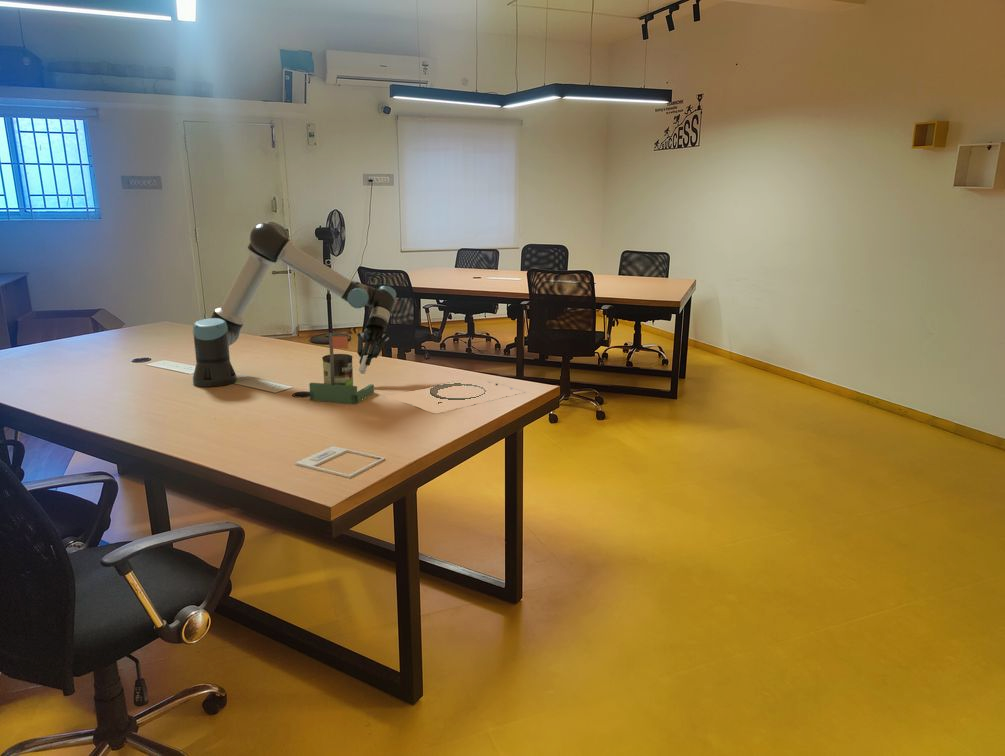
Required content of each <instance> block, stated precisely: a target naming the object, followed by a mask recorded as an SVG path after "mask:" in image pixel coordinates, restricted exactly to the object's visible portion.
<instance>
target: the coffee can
mask: <svg viewBox="0 0 1005 756" xmlns="http://www.w3.org/2000/svg"><path fill="white" fill-rule="evenodd" d="M333 354H334V376H335V384H336V385H349V386H354V375H353V374H354V373H353V372H354V371H353V355H351V354H349V353H348V354H347V353H333ZM321 358H322V366H323V369H322V370H323V383H324V384H331V368H330V354H327V355H324V356H322V357H321Z"/></svg>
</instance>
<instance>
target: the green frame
mask: <svg viewBox="0 0 1005 756" xmlns="http://www.w3.org/2000/svg"><path fill="white" fill-rule="evenodd" d="M348 341H349V340H348V336H334V334H333V333H332V332H328V343H329V355H330V368H331V384H324V382H310V383H309V384H308V385H309V401H313V402H314V401H315V402H323V403H324V402H326V403H338V404H350V405H357V404H358V403H360V402H362V401H363V400H365V399H366V398H368V397H369V396H371V395H372V394H371V393H373V392H374V393H375V385H374V384H372V383H371V384H368V385H366V386H364V387H363V388H361V389H360V390H358V386H357V385H353V386H349V385H336V384H335V376H334V354H335V353H334V349H342V350H348V349H349V342H348ZM374 393H373V394H374ZM370 394H371V395H370ZM368 395H369V396H368ZM367 396H368V397H367ZM365 397H366V398H365ZM364 398H365V399H364ZM362 399H363V400H362ZM361 400H362V401H361ZM359 401H360V402H359ZM356 403H357V404H356Z"/></svg>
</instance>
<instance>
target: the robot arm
mask: <svg viewBox="0 0 1005 756" xmlns="http://www.w3.org/2000/svg"><path fill="white" fill-rule="evenodd" d="M249 241H250V242H249V243H248V246H247V248H246V249H247V252H248V255H247V257H246V259H245V260H244V262H243V265H242V266H241V268H240V270H239V272H238V274H237V276H236V278H235V279H234V282H233V284H232V286H231V288H230V289H229V291H228V293H227V295H226V296H225V299H224V300H223V303H222V304H221V306H220V307H217V308H215V309H214V311H213V313H212V314H211V316H210V318H204V319H200V320H197V321H195V322H194V324H193V326H192V335H193V343H194V351H195V352H194V353H195V361H196V362H195V369H194V372H193V376H192V383H193V386H197V387H203V388H211V387H221V386H222V387H223V386H228V385H231V384H234V383H235V381H236V382H237V373H236V372H235V370H234V367H233V365H232V363H231V357H230V346H231V345H233V344H235V342H236V341H237V340H238V339H239V336H240V333H241V329H242V328H243V326H244V324H245V321H244V319H243V317H244V315H245V313H246V311H247V309H248V308H249V306H250V304H251V302H252V300H253V298H254V297H255V295H256V293H257V290H258V289H259V286H261V283H262V281H263V279H264V277H265V275H266V274H267V272H268V270H269V268H270V266H271V265H274V264H278V263H282V264H283V265H286V266H288V267H289V268H291V269H292V270H294V271H295V272H298V273H299V274H301V275H302V276H304V277H306V278H307V279H308V280H309V279H310V280H311V281H312V282H314V283H315V284H317V285H319V286H320V287H323V288H324V289H325V290H327V291H329V292H331V293H332V294H334V295H336V296H337V297H339V298H340V299H342V300H343V301H344V302H347V303H348V304H349V305H350V307H352V308H354V309H362V308H364V307H365V306H368V307H372V308H371V312H370V314H369V318H368V320H367V323H366V327H365V329H364V330H363V332H362V333H360V332H357V334H356V336H357V337H358V339H357V355H358V356H359V357H360V358H359V362H358V363H359V368H358V371H359V373H360V374H362V375H365V374H366V371H367V368H368V367H369V366H370V365H371V362H372V359H377V358H378V357H379V355H380V353H381V351H382V350H383V348H384V346H385V345H386V344H387V343H388V342H389V341H390V338H389V335H388V334H386V330H387V327H388V324H389V320H390V317H391V314H392V311H393V309H394V306H395V301H396V298H397V292H396V289H394V288H393V287H391V286H388V285H386V286H385V285H382V286H379V288H375V287H372V286H369V285H366V284H364V283H361V282H359V281H355V280H351V279H349V278H347V277H345V276H343V275H342V274H340V273H339V272H337V271H335V270H334V269H332V268H330V267H329V266H328V265H326V264H324V263H322V262H321V261H319V260H318V259H316V258H315V257H313V256H312V255H310V254H308V253H306V252H305V251H303V250H302V249H300V248H298V247H296V246H295V245H293V244H292V243H293V242H292V240H290V239H289V234H288V232H287V230H286V229H285V227H283V226H282V225H281V224H279V223H276V222H273V221H267V222H262V223H258V224H256V225H255V226H254V227H253V228H252V230H250V233H249ZM364 339H365V341H364Z"/></svg>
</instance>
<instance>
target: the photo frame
mask: <svg viewBox="0 0 1005 756" xmlns="http://www.w3.org/2000/svg"><path fill="white" fill-rule="evenodd" d="M345 453H350V454H351V453H352V454H355V455H360V456H364V457H367V456H369V457H368V458H372V457H374V458H373V459H376V458H379V459H377V460H376V461H373V462H372V463H370V464H367V465H366V466H364V467H362V468H359V469H357V470H355V471H354V472H352V473H350V474H347V473H343V472H339V471H335V470H331V469H328V468H323V467H319V465H322V464H324V463H325V462H327V461H331V460H333V459H334V458H336V457H339V456H340V455H343V454H345ZM384 459H385V460H386V457H383V456H378V455H374V454H371V453H366V452H361V451H357V450H353V449H349V448H343V447H341V446H335V445H333V446H330V447H327V448H326V449H323V450H320V451H319V452H316V453H314V454H312V455H309V456H307V457H305V458H303V459H300V460H298V461H296V462H294V466H295V465H296V466H299V467H303V468H308V469H311V470H314V471H315V470H316V471H320V472H323V473H327V474H331V475H335V476H338V477H339V476H340V477H344V478H347V479H351V478H352V477H354V476H356V475H358V474H361V473H362V472H364V471H366V470H369V469H370V468H371V467H374V466H376V465H377V463H378V464H380V463H382V462H383V461H382V460H384ZM385 460H384V461H385ZM381 461H382V462H381ZM379 462H380V463H379ZM375 464H376V465H375ZM373 465H374V466H373Z"/></svg>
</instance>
